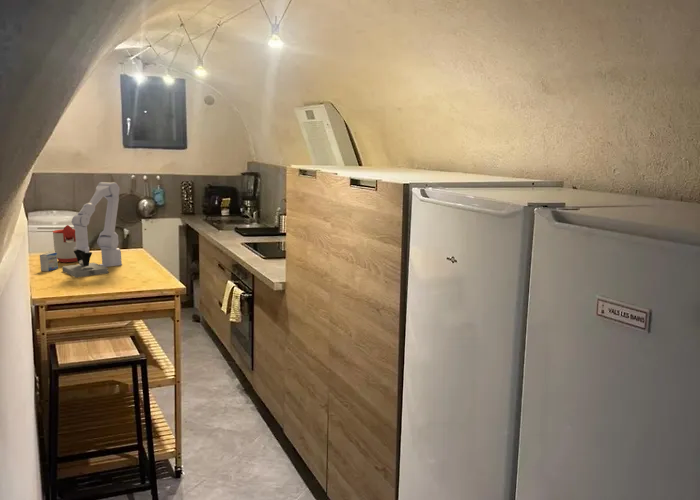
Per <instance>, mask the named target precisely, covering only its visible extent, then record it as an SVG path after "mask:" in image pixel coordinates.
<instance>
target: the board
mask: <svg viewBox="0 0 700 500" xmlns="http://www.w3.org/2000/svg"><path fill="white" fill-rule="evenodd" d="M99 264H100V263H96V262H89V266H81V265H79V263H78V264H71V265H63V266H62V269H61V270H62V272H63V273H66V274H68V275H70V276H72V277H74V278H83V277H89V276H96V275H97V276H99V275H103V274H109V268H108V267H104V266H101V265H99Z"/></svg>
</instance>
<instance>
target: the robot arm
mask: <svg viewBox="0 0 700 500" xmlns="http://www.w3.org/2000/svg"><path fill="white" fill-rule="evenodd" d="M120 189H121V187H120V186H119V185H118V183H117V182H115V181H114V182H113V181H112V182H106V181H100V182H99V183H97V186H96V187H95V191H94V193H93V195H92V197H91V198H90V200H89V202H87V203H84V204H83V206H82V208H81V209H80V211H78V213H77V214H75V215H74V216H73V217H72V219H71V224H72V225H73V229H75V237H76V248H74V249H77V250H75V251H74V253H75V255H76V257H77V260H78V262H77V263H78V264H79V261H80V260H81V259H82V260H83V265H84V266H89V263H90V262H91V261H90V260H91V257H92V254H93V252H92V251H90V246H89V238H88V236H89V235H88V226H89V225H90V220H91V217H92V215H93V214H95V213H94V212H96V206H97V204H99V202H100V201H101V200H102V199H103V198H104V199H106V200H107V201H106V202H107V204H106V211H105V218H104V226H103V230H102V231H100V233H99V236H98V238H97V241H96V243H97V246H98V247H99V249H100V250H101V251H100V253H101V263H98V264H99V265H101V266H104V267H106V268H108V267H114V266H115V267H116V266H122V265H123V264H122V253H121V248H119V247H118V246H119V243H120V242H119V234H117V232H116V224H117V216H118V209H119V202H120V197H119V196H120Z"/></svg>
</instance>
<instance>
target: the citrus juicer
mask: <svg viewBox="0 0 700 500" xmlns="http://www.w3.org/2000/svg"><path fill="white" fill-rule="evenodd" d="M52 235H53V236H52V237H53V247H54V252H56V253H57V262H60V263H63V264H67V263H78V260H77V257H76V255H75V253H74V251H75V250H77V249H74V248H76V237H75V229H74V228H72V227H71V226H70V225H68V224H66V225H65V227H64V228H62V229H55V230H52Z"/></svg>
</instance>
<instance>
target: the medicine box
mask: <svg viewBox="0 0 700 500" xmlns="http://www.w3.org/2000/svg"><path fill="white" fill-rule="evenodd" d="M39 260H40V261H39V263H40V271H41V272H51V270H52V271H54V270H57V269H58V268H59V265H58V264H59V263H58V259H57V253H56V252H55V251H52V252H45V253H43V254H39Z"/></svg>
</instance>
